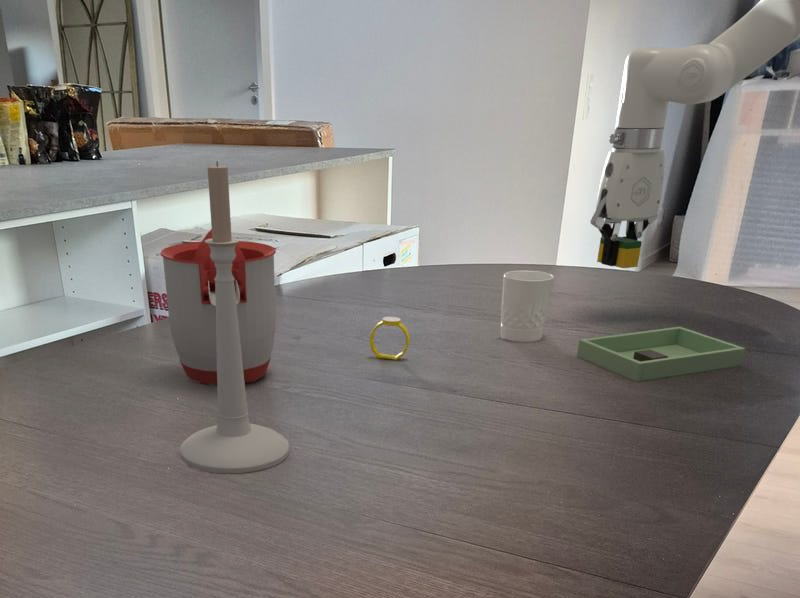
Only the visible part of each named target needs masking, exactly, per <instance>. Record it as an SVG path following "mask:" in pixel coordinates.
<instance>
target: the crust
mask: <svg viewBox="0 0 800 598" xmlns="http://www.w3.org/2000/svg"><path fill="white" fill-rule="evenodd" d="M662 358H668V356H666V355H664V354H661V353H658V352H655V351H653V350H643V351H636V352H635V353H634V357H633V359H635V360H637V361H640V362H642V361H648V360H655V359H662Z"/></svg>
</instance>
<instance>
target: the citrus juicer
mask: <svg viewBox="0 0 800 598" xmlns="http://www.w3.org/2000/svg"><path fill="white" fill-rule="evenodd" d="M207 239H212V228H211V229H210V230H209V231H207V234H206V235H205V236H204V237H203V239H202V240H201V241H192V242H184V243H179V244H174V245H169V246H167V247H165V248H163V249H162V250H161V251H160V256H161V257H162V262H163V271H164V281H165V293H166V303H167V312H168V319H169V320H168V321H169V327H170V333H171V336H172V341H173V344H174V347H175V350H176V352H177V355H178V357H179V362H180V364H181V367H182V369H183V370H184V373H185V374H186V377H188V379H190V380H192V381H194V382H197V383H199V384H200V385H203V386H209V385H217V342H216V293H215V280H214V279H215V277H216V274H217V271H216V267H215V262H214V261H213V260H212V259H211V258H210V254H211V249H210V247H209V246H208V244H207V243H205V240H207ZM276 253H277V252H276V248H275V247H274V246H272V245H269V244H266V243H261V242H256V241H246V240H244V241H243V240H240V241H239V242H238V243H237V245H236V246H235V254H236V258H235V259H234V260H233V261H232V269H231V272H232V276H233V277H234V279H235V280H234V286H235V296H236V306H237V315H238V325H239V335H240V344H241V354H242V364H243V373H244V383H254V382H256V381H257V380H258V379H260V378H262V377H263V376H265V374H266V373H267V370H268V368H269V364H270V361H271V358H272V356H271V355H272V351H273V347H274V342H275V334H276V313H277V312H276V287H275V286H276V284H275V283H276V281H275V254H276Z"/></svg>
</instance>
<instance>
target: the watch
mask: <svg viewBox="0 0 800 598" xmlns="http://www.w3.org/2000/svg"><path fill="white" fill-rule="evenodd" d="M401 321H402V320H401V318H400V317H396V316H384V317H382V319H381V321H379V322H378V323H377V324H376V325H375V327H374V328H373V329H372V330H371V332H370V335H369V336H370V337H369V347H370V349H371V352H372V353H373V355H375V356H376V357H377V358H378V359H386V360H393V361H397V360H399V359H400V358H402V357H403V356H404V355H405V354H406V352H407V350H408V348H409V347H410V339H411V338H410V333H409V331H408V328H407V327H406V325H404V324H403V322H401ZM382 326H389V327H398V328H399V329H400V330H401V331H402V333H403V335H404V337H405V347H404V348H403V350H402V351H401V352H400V353H398V354H397V355H395V354H394V355H393V354H386V353H381V352H380V351H379V349H378V348H376V345H375V342H374V337H375V333H376V331H377V329H378V328H380V327H382Z"/></svg>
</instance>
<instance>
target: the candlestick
mask: <svg viewBox="0 0 800 598" xmlns="http://www.w3.org/2000/svg"><path fill="white" fill-rule="evenodd" d="M218 163H219V162H218V160H217V161H216V165H209V166H207V180H208V195H209V196H208V197H209V208H210V211H209V212H210V224H211V225H210V226H211V229H212V239H207V240H205V243H207V244H208V246H209V247H210V249H211V254H210V258H211V259H212V260H213V261H214V262H215V267H216V271H217V274H216V277H215V279H214V280H215V293H216V342H217V384H216V386H217V387H216V388H217V413H216V415H217V422H216V424H215V425H211V426H208V427H205V428H202V429H200V430H197V431H196V432H194V433H193V434H191V435H189V436H188V437H187V438H186V439H185V440H184V441H183V442H182V444H181V445H180V448H179V455H180V459H181V460H182V461H183V462H184V464H186V465H187V466H190V467H192V468H193V469H196V470H200V471H202V472H209V473H215V474H216V473H217V474H246V473H253V472H258V471H262V470H267V469H270V468H272V467H275V466H277V465H278V464H280V463H282V462H284V460H286V459H287V458H288V456H289V455H290V443H289V441H288V440H287V438H285V437H284V436H283V435H282V434H280V433H279V432H278V431H276V430H275V429H272V428H269V427H267V426H264V425H260V424H255V423H250V420H249V410H248V402H247V394H246V384H245V383H246V382H245V383H244V373H243V364H242V354H241V344H240V335H239V325H238V315H237V306H236V296H235V286H234V280H235V279H234V277H233V276H232V272H231V269H232V261H233V260H234V259H235V258H236V254H235V246H236V245H237V243H238V242H239V241H241V240H240V239H238V238H234V237H232V221H231V220H232V219H231V204H230V186H229V185H230V184H229V168H228V166H227V165H219V164H218Z"/></svg>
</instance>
